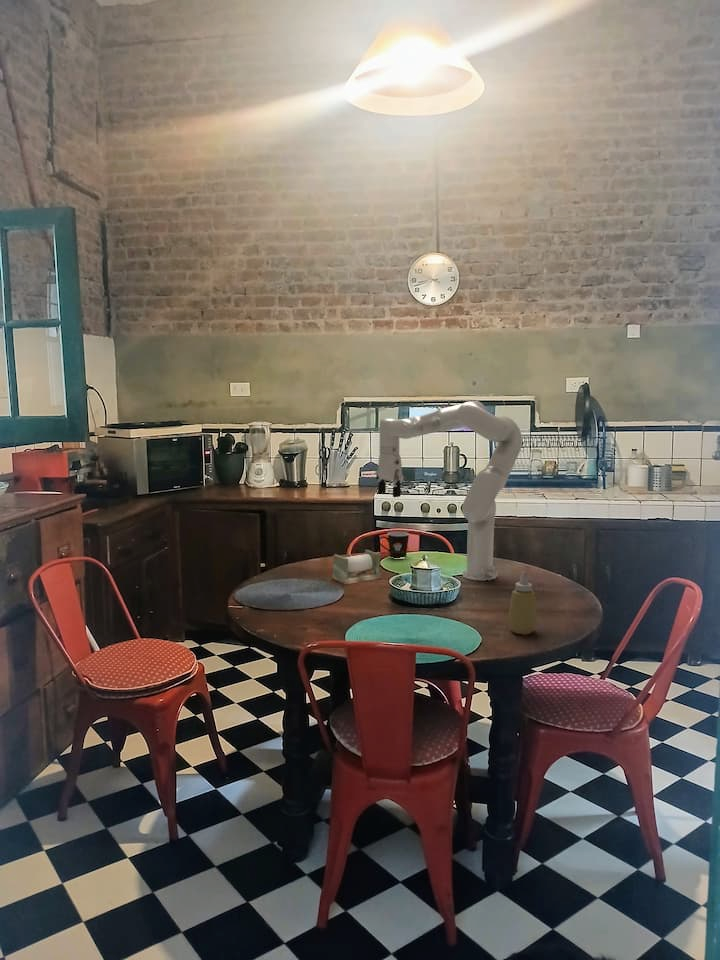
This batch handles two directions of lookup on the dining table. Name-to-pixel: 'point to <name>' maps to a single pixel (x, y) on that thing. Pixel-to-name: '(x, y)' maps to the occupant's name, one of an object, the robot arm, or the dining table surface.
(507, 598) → the dining table surface
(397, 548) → the coffee mug
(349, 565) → the paper roll
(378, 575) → the roll holder
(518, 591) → the squeeze bottle
